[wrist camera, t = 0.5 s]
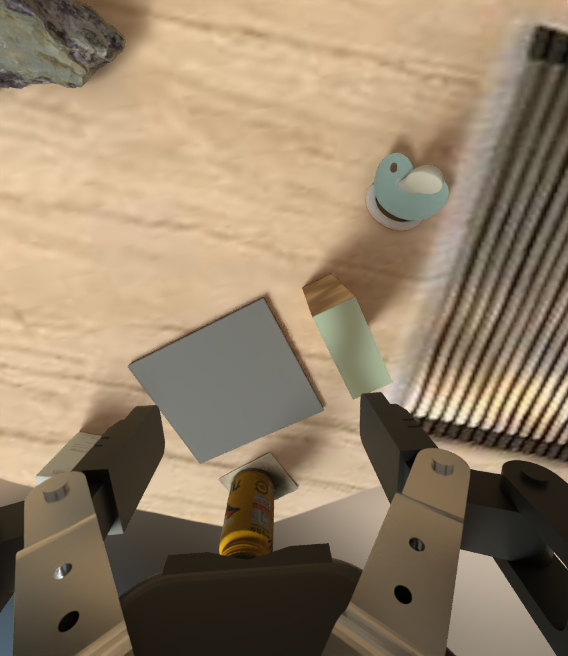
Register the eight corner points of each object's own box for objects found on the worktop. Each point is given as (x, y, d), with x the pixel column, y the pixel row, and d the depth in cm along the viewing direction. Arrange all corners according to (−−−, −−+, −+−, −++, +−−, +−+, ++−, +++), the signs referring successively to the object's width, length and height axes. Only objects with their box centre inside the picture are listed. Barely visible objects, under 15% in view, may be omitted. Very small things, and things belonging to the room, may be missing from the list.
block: (331, 273, 33) (355, 296, 22) (358, 335, 35) (392, 382, 25) (302, 287, 33) (312, 317, 23) (331, 347, 36) (353, 399, 25)
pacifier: (410, 241, 32) (445, 185, 30) (438, 247, 26) (484, 178, 24) (351, 208, 31) (383, 148, 29) (366, 207, 25) (408, 132, 23)
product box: (126, 437, 39) (93, 483, 32) (125, 474, 41) (94, 524, 34) (78, 430, 39) (34, 475, 32) (79, 467, 41) (38, 517, 34)
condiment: (218, 478, 42) (195, 573, 30) (269, 451, 40) (266, 539, 29) (248, 511, 44) (237, 611, 32) (298, 486, 42) (305, 582, 31)
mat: (263, 297, 34) (263, 298, 33) (323, 407, 38) (323, 410, 38) (129, 364, 36) (127, 366, 35) (201, 460, 41) (200, 463, 40)
